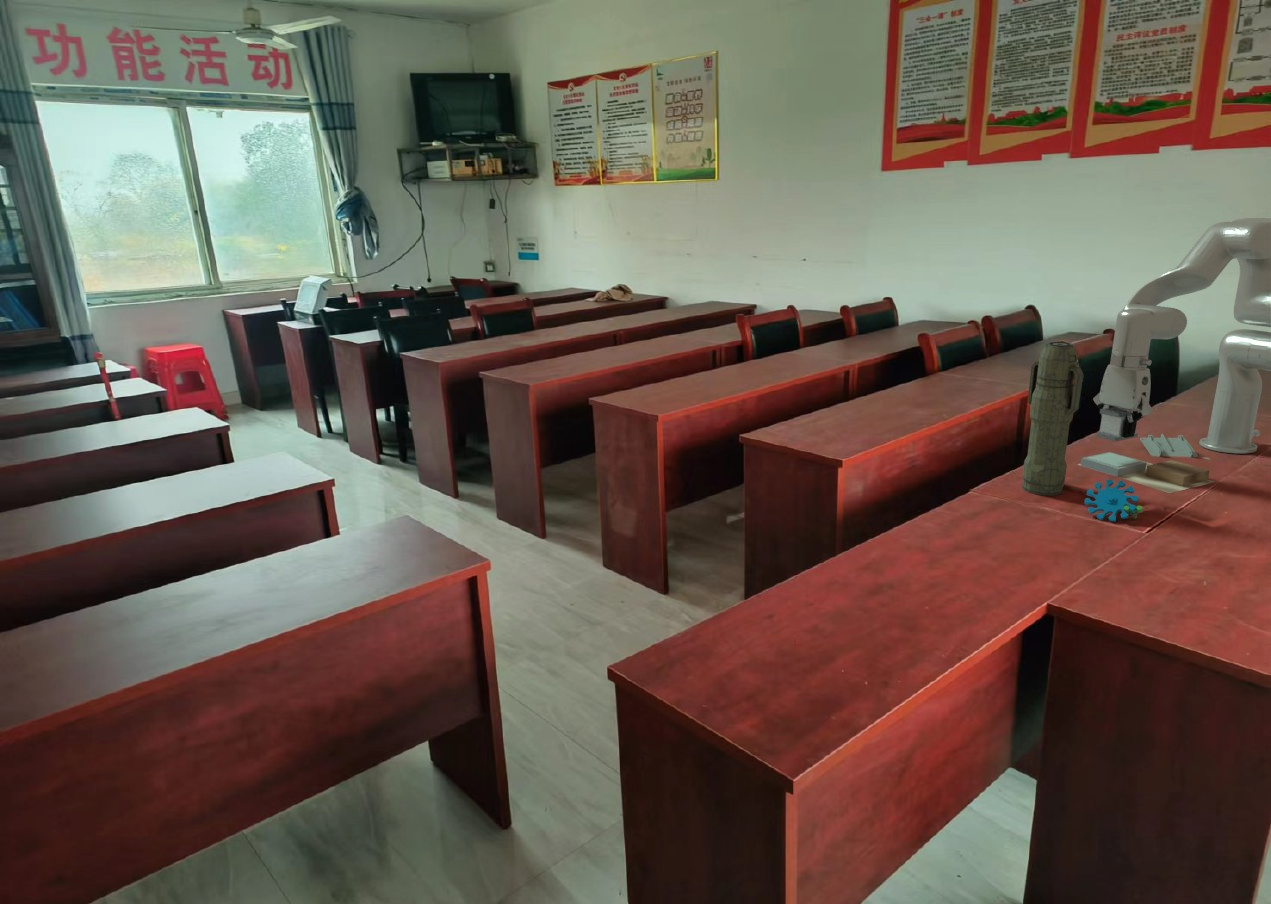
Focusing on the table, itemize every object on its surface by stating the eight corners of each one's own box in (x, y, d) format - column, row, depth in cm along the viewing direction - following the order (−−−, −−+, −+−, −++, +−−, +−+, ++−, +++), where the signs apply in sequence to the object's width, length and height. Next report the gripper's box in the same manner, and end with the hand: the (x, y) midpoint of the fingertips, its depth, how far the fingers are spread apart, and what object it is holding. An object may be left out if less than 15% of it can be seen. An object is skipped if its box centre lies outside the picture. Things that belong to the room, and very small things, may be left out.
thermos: (1057, 500, 182) (1076, 349, 172) (1008, 487, 191) (1024, 343, 181) (1077, 491, 187) (1097, 344, 176) (1028, 479, 196) (1045, 338, 186)
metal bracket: (1132, 430, 214) (1193, 430, 211) (1126, 448, 217) (1187, 448, 214) (1152, 460, 202) (1217, 461, 199) (1145, 478, 205) (1210, 480, 203)
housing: (1118, 432, 200) (1122, 405, 198) (1137, 437, 196) (1141, 409, 193) (1096, 436, 197) (1100, 409, 195) (1114, 441, 193) (1119, 413, 191)
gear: (1074, 507, 174) (1099, 471, 175) (1078, 519, 178) (1102, 483, 179) (1127, 528, 166) (1152, 490, 167) (1130, 540, 170) (1155, 503, 171)
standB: (1108, 459, 205) (1109, 451, 204) (1145, 470, 196) (1146, 461, 196) (1080, 465, 201) (1081, 457, 201) (1117, 476, 193) (1118, 468, 192)
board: (1120, 458, 208) (1121, 454, 208) (1214, 485, 187) (1215, 481, 187) (1076, 468, 203) (1077, 464, 202) (1169, 497, 181) (1169, 493, 181)
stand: (1170, 469, 196) (1172, 460, 195) (1207, 480, 188) (1209, 470, 187) (1145, 475, 193) (1147, 465, 192) (1182, 486, 185) (1184, 476, 184)
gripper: (1174, 365, 185) (1161, 440, 190) (1107, 354, 200) (1097, 424, 205) (1152, 369, 182) (1139, 444, 187) (1086, 357, 197) (1076, 427, 202)
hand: (1117, 433), depth 196 cm, fingers closed on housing, 5 cm apart
